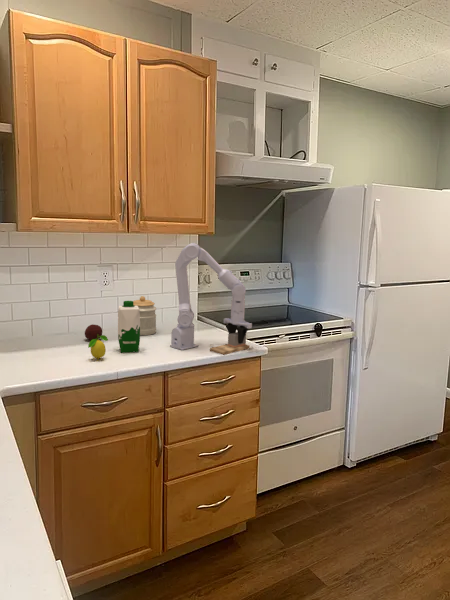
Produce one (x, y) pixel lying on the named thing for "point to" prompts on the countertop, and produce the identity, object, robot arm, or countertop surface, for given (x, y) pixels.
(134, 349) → the milk carton
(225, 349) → the board
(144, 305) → the jar
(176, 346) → the robot arm
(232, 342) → the sanding block
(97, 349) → the lemon
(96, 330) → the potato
